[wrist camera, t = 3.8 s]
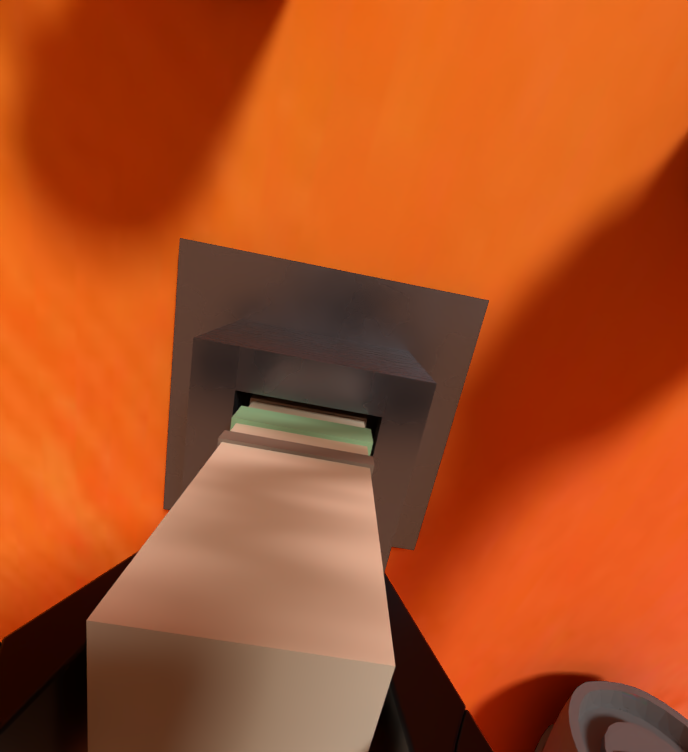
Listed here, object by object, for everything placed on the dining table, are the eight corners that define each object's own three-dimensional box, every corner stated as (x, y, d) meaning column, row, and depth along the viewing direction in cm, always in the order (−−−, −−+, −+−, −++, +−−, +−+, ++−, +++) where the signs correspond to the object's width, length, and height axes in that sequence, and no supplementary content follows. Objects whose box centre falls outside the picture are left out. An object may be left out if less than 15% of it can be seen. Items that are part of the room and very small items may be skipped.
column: (367, 411, 13) (409, 659, 5) (345, 508, 14) (346, 850, 6) (254, 390, 13) (74, 609, 4) (240, 490, 14) (78, 817, 5)
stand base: (482, 299, 16) (576, 313, 10) (411, 539, 20) (444, 670, 14) (188, 239, 16) (71, 211, 9) (170, 499, 20) (78, 615, 13)
